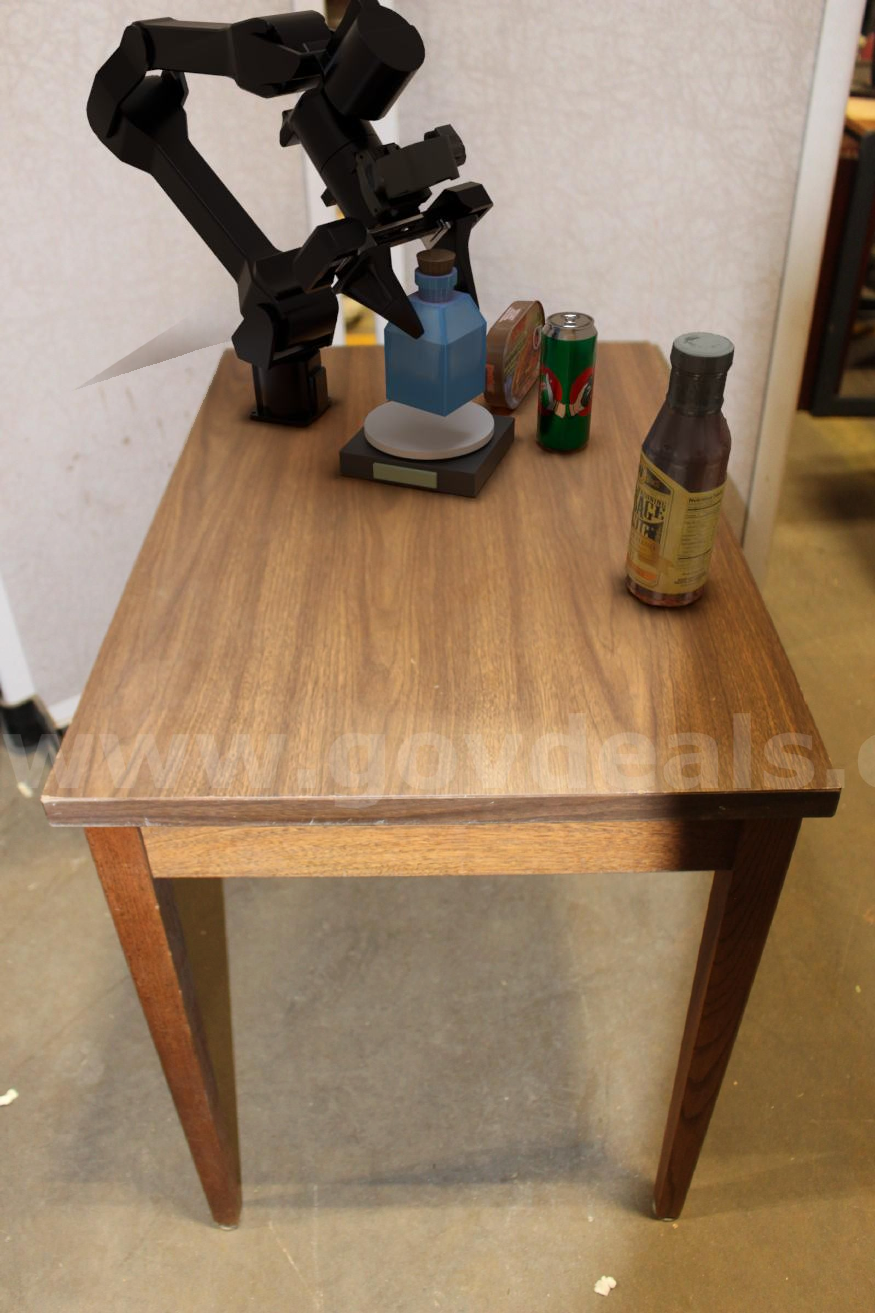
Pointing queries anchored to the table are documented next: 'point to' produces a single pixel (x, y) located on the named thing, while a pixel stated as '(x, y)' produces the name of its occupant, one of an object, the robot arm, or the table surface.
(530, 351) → the tin
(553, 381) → the soda can
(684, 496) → the sauce bottle
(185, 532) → the table surface
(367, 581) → the table surface
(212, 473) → the table surface
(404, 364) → the perfume bottle
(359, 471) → the scale
